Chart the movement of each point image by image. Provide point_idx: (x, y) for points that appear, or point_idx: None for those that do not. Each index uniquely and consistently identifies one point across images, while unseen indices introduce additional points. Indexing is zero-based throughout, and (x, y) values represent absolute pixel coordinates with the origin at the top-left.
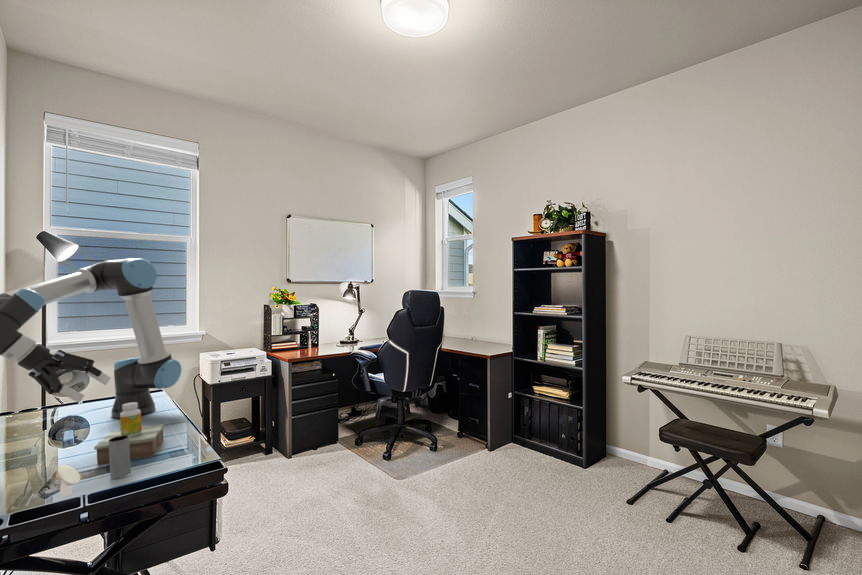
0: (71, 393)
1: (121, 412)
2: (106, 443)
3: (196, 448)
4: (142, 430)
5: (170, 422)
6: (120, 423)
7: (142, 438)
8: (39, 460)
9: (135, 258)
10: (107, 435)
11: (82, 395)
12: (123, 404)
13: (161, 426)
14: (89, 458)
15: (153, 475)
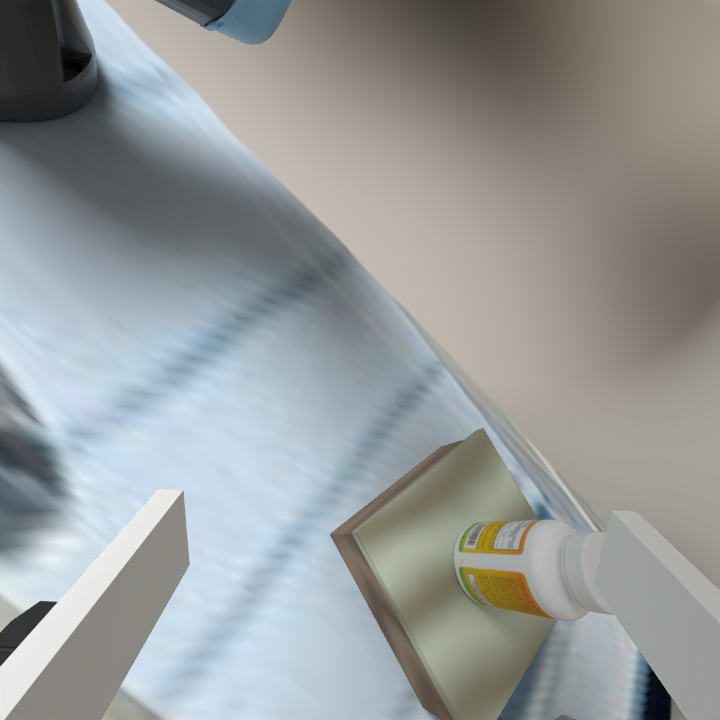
0: (116, 640)
1: (561, 605)
2: (484, 691)
3: (565, 498)
4: (474, 506)
5: (307, 251)
6: (517, 608)
7: None
8: None
9: None
10: (392, 591)
11: (177, 512)
12: (594, 591)
13: (496, 455)
14: (322, 654)
15: (628, 708)
